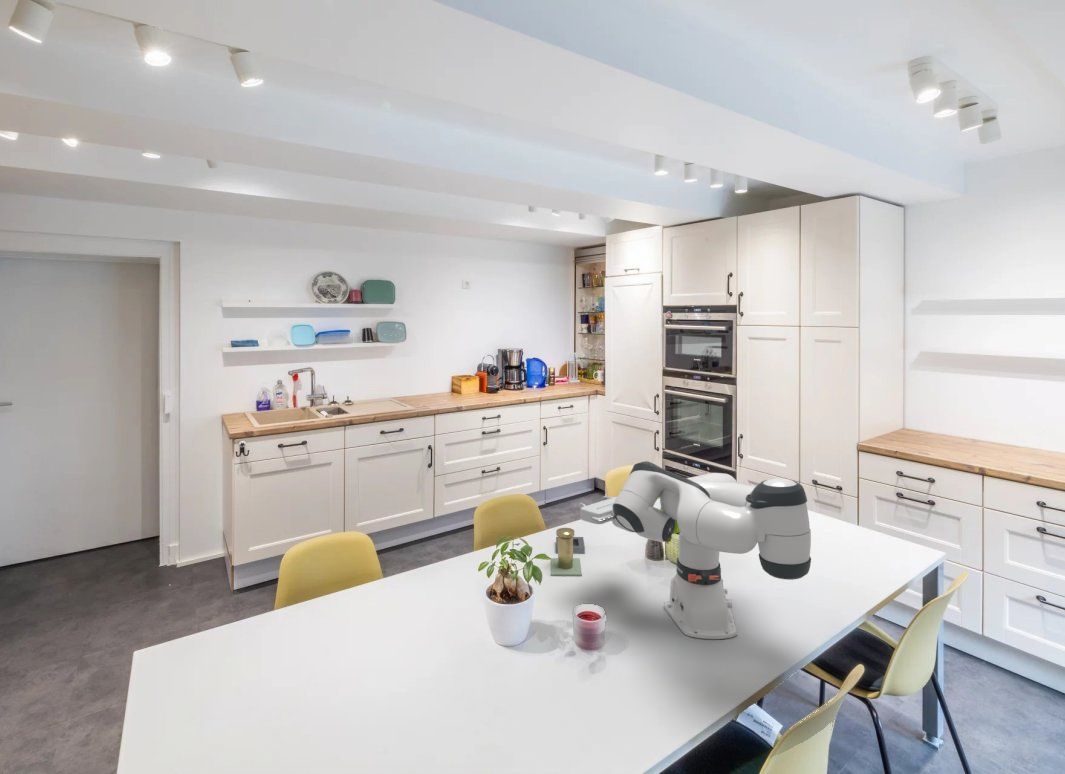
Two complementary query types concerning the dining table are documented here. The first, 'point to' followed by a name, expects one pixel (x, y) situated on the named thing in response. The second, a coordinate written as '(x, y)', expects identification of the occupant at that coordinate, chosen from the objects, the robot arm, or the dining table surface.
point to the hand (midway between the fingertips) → (591, 501)
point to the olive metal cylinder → (565, 547)
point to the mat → (566, 572)
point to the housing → (575, 545)
